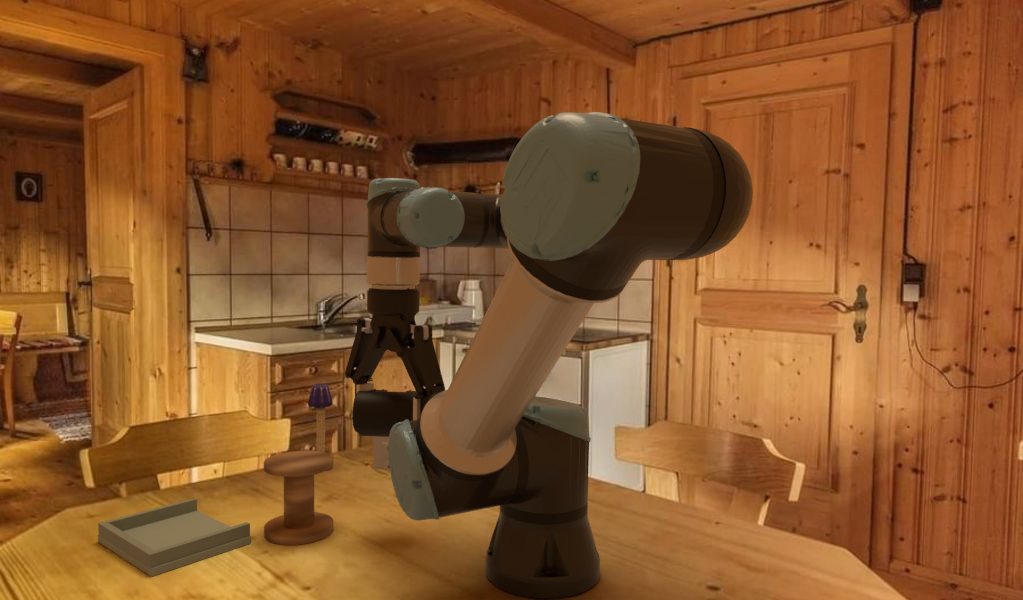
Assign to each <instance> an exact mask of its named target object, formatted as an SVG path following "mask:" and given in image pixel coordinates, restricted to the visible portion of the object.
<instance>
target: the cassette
mask: <svg viewBox="0 0 1023 600" xmlns="http://www.w3.org/2000/svg"><path fill="white" fill-rule="evenodd" d="M388 441H389V437H379V436H373V469H383V470H390V466H389V455H388Z"/></svg>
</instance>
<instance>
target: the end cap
mask: <svg viewBox="0 0 1023 600" xmlns="http://www.w3.org/2000/svg"><path fill="white" fill-rule="evenodd" d="M416 395H417V392H416V390H411V389H409V390H406V391H388V389H385V388H382V389H376V388H374V390H369V391H358V392H357V394H356V396H355V395H354V400H353V404H352V412H351V413H352V414H351V415H352V416H351V417H352V420H351V421H352V427H353V429H354V431H355V432H356V433H358V435H359V436H360V437H374V436H379V437H389V434H390V431H391V428H392V427H393V426H394V425H395V424H396V423H398V422H403V421H404V420H406V419H408V420H409V421H413V397H415V396H416Z"/></svg>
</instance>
